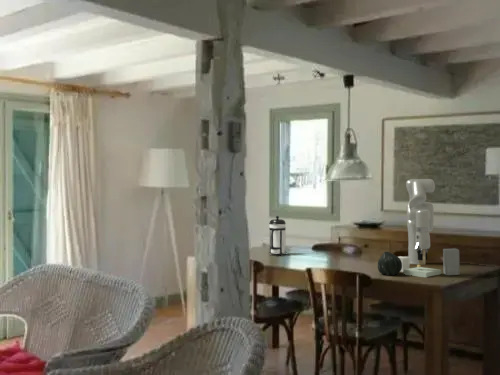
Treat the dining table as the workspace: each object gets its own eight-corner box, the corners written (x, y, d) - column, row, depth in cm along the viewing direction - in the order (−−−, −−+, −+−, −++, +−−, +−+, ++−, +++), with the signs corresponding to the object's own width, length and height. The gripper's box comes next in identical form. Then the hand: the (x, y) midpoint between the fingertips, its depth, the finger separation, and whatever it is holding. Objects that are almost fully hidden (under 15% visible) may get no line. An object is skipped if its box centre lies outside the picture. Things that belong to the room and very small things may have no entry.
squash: (410, 265, 391) (395, 246, 397) (398, 269, 380) (383, 249, 386) (395, 279, 398) (380, 260, 404) (383, 283, 387) (368, 263, 393)
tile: (409, 270, 408) (409, 264, 408) (417, 268, 414) (417, 263, 414) (421, 271, 401) (421, 266, 401) (429, 270, 407) (429, 265, 407)
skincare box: (456, 273, 394) (456, 248, 393) (460, 275, 387) (460, 249, 386) (442, 273, 394) (442, 248, 393) (446, 275, 386) (446, 249, 386)
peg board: (403, 274, 391) (403, 269, 391) (418, 271, 402) (418, 266, 402) (426, 277, 379) (426, 272, 379) (441, 274, 390) (441, 269, 390)
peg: (417, 264, 390) (417, 247, 390) (421, 263, 393) (421, 247, 393) (423, 264, 388) (423, 248, 387) (426, 264, 390) (426, 247, 390)
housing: (393, 271, 404) (393, 257, 403) (400, 270, 408) (400, 256, 408) (403, 272, 398) (403, 258, 398) (409, 271, 403) (409, 257, 403)
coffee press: (264, 254, 492) (263, 215, 491) (283, 253, 497) (283, 215, 496) (271, 256, 475) (271, 217, 475) (291, 256, 480) (291, 216, 479)
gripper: (419, 231, 381) (419, 261, 382) (435, 229, 393) (435, 259, 393) (409, 230, 387) (409, 260, 387) (424, 229, 398) (424, 258, 398)
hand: (422, 259), depth 390 cm, fingers closed on peg, 4 cm apart
